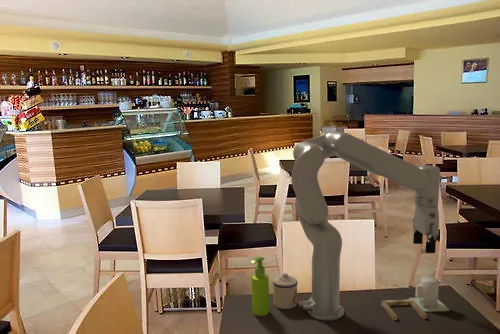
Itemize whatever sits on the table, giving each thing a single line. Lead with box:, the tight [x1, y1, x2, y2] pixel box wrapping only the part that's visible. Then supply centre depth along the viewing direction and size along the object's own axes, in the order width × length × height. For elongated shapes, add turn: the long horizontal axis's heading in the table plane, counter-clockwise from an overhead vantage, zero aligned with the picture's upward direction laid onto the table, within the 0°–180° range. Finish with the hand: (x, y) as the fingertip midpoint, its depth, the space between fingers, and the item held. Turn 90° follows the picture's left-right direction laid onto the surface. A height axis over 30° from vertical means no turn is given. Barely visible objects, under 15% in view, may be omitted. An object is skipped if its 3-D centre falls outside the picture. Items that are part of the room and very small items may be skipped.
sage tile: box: [408, 297, 450, 313], centre depth 149 cm, size 10×10×1 cm
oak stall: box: [380, 298, 428, 321], centre depth 144 cm, size 11×11×2 cm
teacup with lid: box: [272, 272, 299, 310], centre depth 153 cm, size 12×9×12 cm
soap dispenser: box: [250, 256, 270, 317], centre depth 145 cm, size 6×7×20 cm
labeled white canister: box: [415, 276, 442, 308], centre depth 148 cm, size 6×8×9 cm
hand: (423, 248), depth 147 cm, fingers open, 9 cm apart
